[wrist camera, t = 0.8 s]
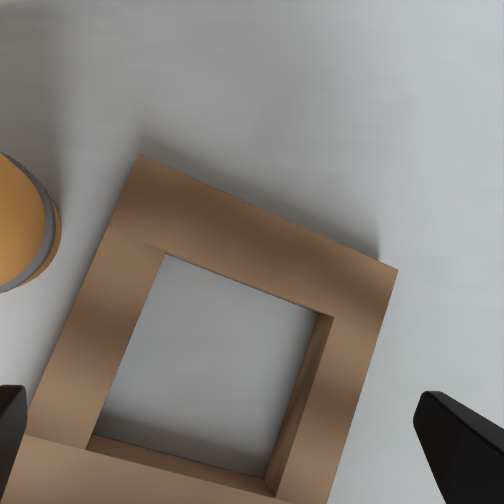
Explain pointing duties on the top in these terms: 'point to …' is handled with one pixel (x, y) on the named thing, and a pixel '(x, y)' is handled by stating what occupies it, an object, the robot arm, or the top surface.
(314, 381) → the wooden frame
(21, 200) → the orange round cylinder
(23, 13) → the top surface
